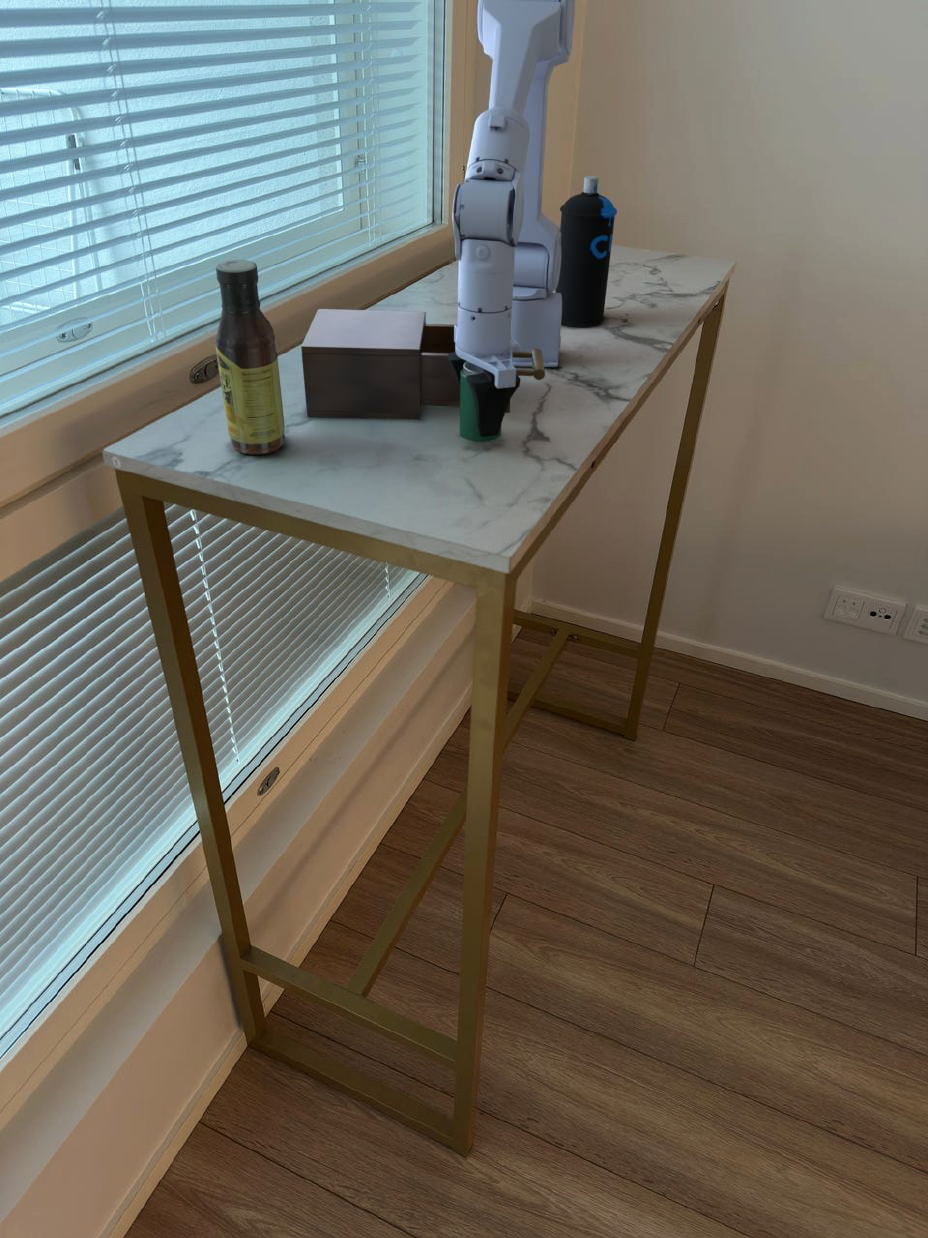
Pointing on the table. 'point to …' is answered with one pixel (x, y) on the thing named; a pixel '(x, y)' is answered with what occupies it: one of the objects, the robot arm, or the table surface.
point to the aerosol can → (585, 255)
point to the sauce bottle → (248, 363)
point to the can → (470, 407)
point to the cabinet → (363, 364)
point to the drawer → (438, 371)
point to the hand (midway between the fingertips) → (480, 425)
